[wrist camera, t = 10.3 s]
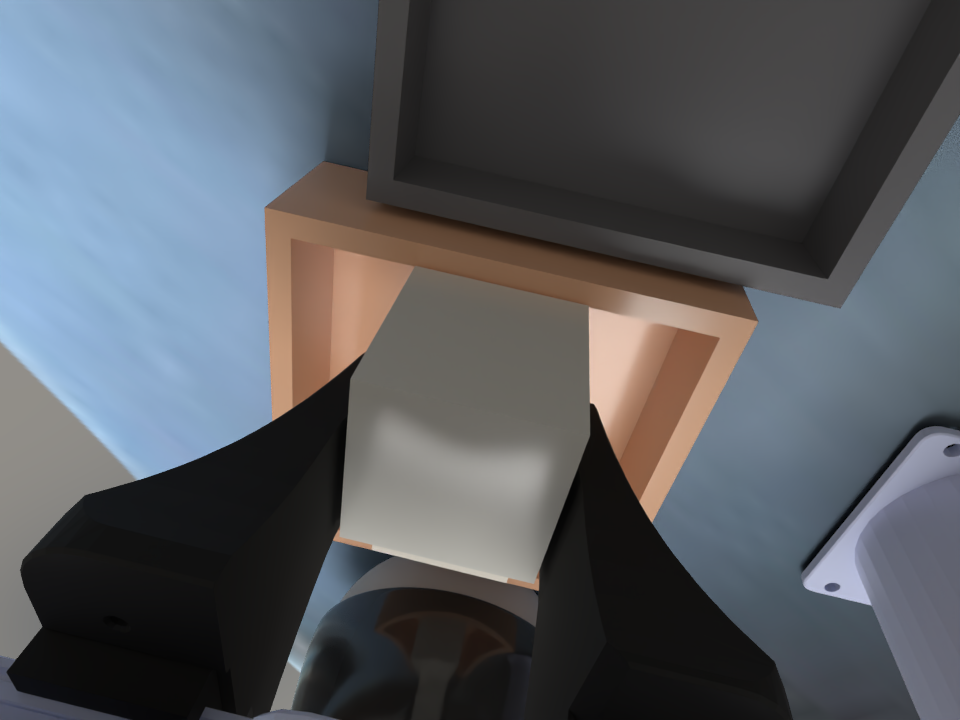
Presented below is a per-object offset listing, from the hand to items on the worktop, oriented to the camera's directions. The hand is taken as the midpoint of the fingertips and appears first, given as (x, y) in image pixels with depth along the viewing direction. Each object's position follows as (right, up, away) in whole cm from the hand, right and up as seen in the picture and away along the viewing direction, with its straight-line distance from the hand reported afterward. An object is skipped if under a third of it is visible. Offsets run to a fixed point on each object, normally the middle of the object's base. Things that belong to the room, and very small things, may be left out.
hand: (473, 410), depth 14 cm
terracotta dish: (0, +1, +6) cm, 6 cm away
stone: (0, +1, +1) cm, 2 cm away
